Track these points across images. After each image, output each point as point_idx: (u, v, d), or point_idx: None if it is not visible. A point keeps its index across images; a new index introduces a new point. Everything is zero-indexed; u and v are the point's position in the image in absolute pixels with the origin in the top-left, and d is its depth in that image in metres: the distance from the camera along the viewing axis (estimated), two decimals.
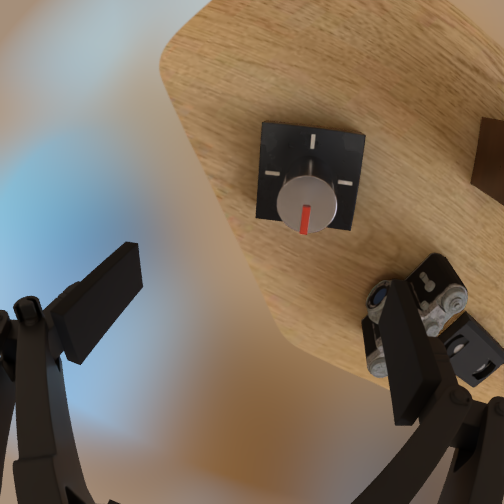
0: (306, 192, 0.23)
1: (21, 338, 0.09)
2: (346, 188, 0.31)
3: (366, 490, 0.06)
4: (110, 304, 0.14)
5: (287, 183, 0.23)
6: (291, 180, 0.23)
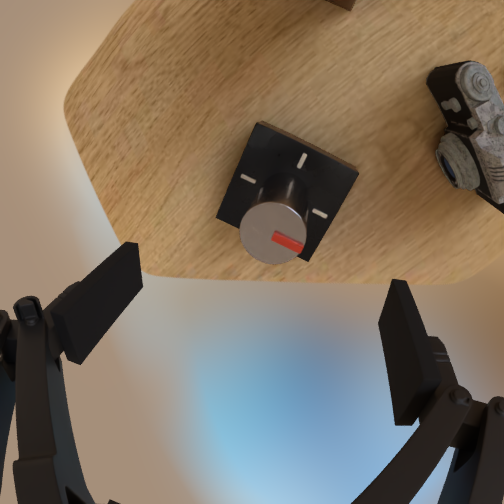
0: (257, 230, 0.21)
1: (21, 338, 0.09)
2: (308, 161, 0.27)
3: (366, 490, 0.06)
4: (110, 304, 0.14)
5: (243, 244, 0.22)
6: (241, 239, 0.22)
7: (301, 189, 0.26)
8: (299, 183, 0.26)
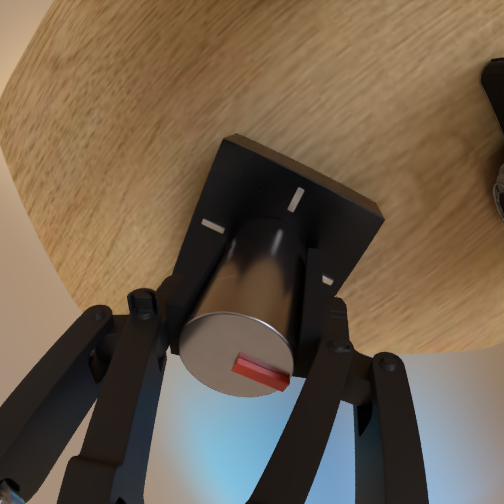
0: (208, 352, 0.11)
1: (127, 330, 0.11)
2: (306, 200, 0.18)
3: (274, 453, 0.07)
4: None
5: (187, 367, 0.12)
6: (183, 360, 0.12)
7: (293, 254, 0.16)
8: (290, 240, 0.17)
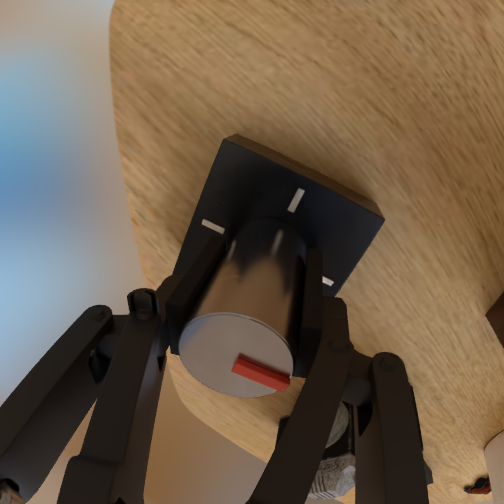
0: (207, 352, 0.11)
1: (127, 330, 0.11)
2: None
3: (274, 453, 0.07)
4: None
5: (187, 368, 0.12)
6: (183, 361, 0.12)
7: (293, 254, 0.16)
8: (290, 240, 0.17)
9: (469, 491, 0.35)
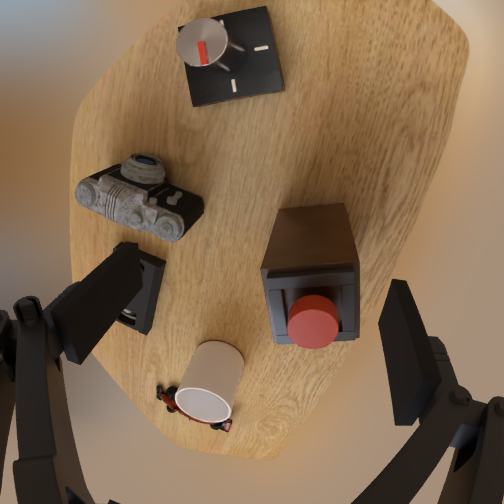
0: (197, 31, 0.21)
1: (21, 338, 0.09)
2: (229, 88, 0.31)
3: (366, 490, 0.06)
4: (110, 304, 0.14)
5: (180, 31, 0.22)
6: (183, 28, 0.21)
7: (242, 54, 0.27)
8: (244, 52, 0.28)
9: (159, 393, 0.60)
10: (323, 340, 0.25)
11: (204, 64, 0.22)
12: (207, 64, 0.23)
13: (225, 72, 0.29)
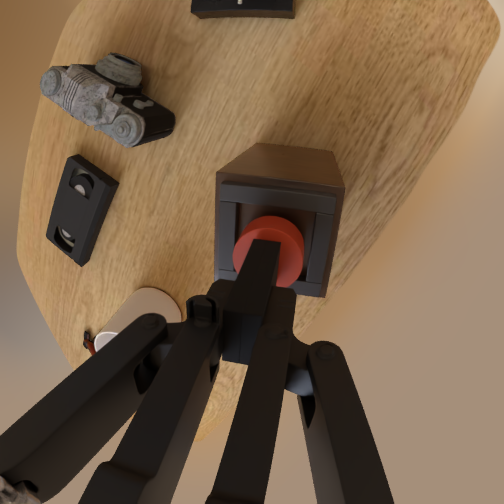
0: None
1: (182, 336, 0.11)
2: (234, 0, 0.24)
3: (227, 445, 0.07)
4: None
5: None
6: None
7: None
8: None
9: (86, 340, 0.52)
10: (279, 280, 0.19)
11: None
12: None
13: None
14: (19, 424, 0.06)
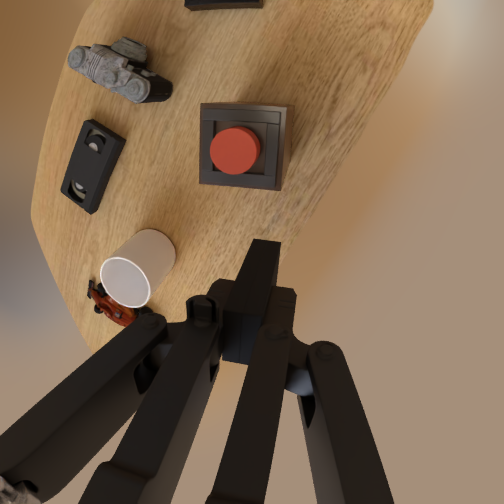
0: None
1: (182, 336, 0.11)
2: None
3: (227, 445, 0.07)
4: None
5: None
6: None
7: None
8: None
9: (90, 289, 0.60)
10: (241, 165, 0.27)
11: None
12: None
13: None
14: (20, 424, 0.06)
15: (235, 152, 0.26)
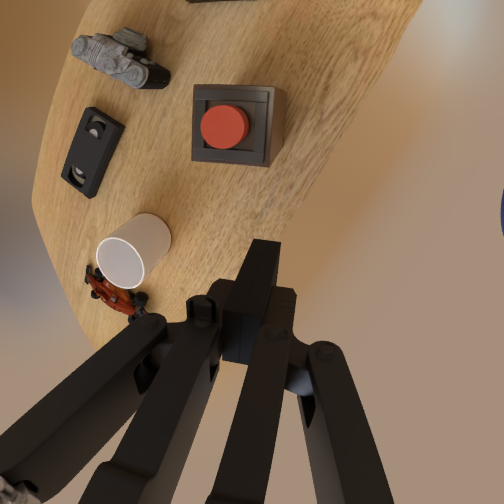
0: None
1: (182, 336, 0.11)
2: None
3: (227, 445, 0.07)
4: None
5: None
6: None
7: None
8: None
9: (87, 274, 0.61)
10: (230, 140, 0.27)
11: None
12: None
13: None
14: (19, 425, 0.06)
15: (224, 127, 0.27)
